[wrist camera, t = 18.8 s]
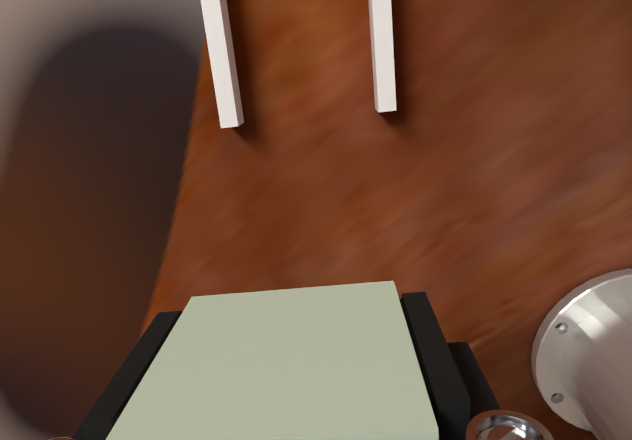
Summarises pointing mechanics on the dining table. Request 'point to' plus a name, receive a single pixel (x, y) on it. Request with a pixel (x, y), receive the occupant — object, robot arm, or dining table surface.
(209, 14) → the channel
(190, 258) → the dining table surface
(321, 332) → the block
